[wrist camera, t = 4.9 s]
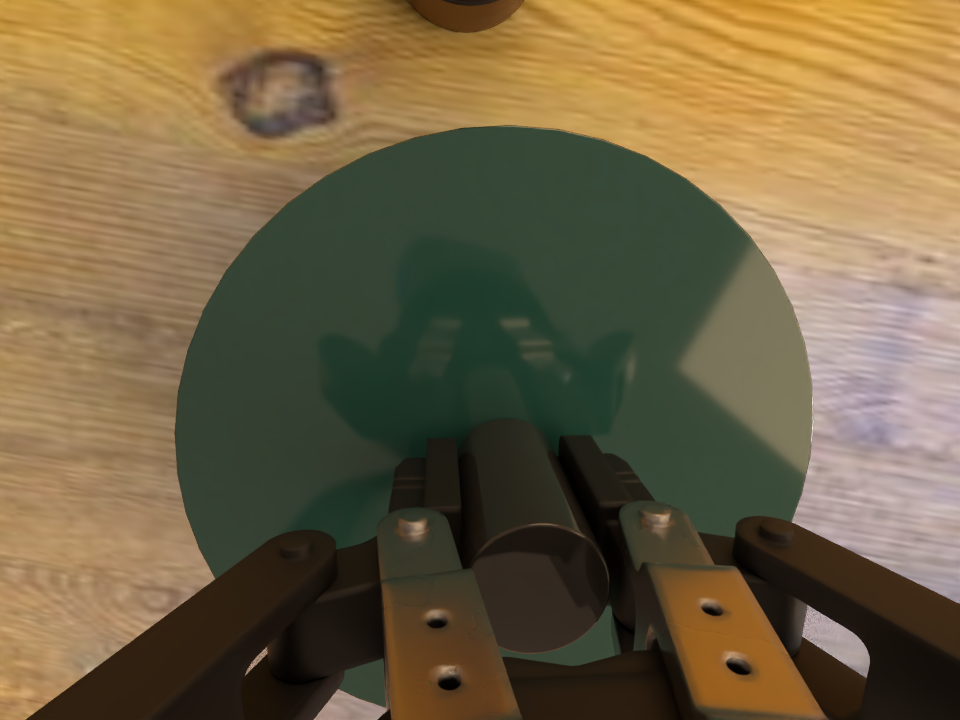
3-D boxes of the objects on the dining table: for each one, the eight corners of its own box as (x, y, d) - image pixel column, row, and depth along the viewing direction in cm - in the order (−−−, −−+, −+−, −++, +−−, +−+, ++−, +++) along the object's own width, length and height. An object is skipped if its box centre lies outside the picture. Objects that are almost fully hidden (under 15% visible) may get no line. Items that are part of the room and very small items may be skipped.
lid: (228, 703, 17) (119, 962, 11) (153, 126, 13) (-80, 62, 7) (749, 676, 19) (897, 900, 13) (830, 135, 14) (1108, 86, 8)
